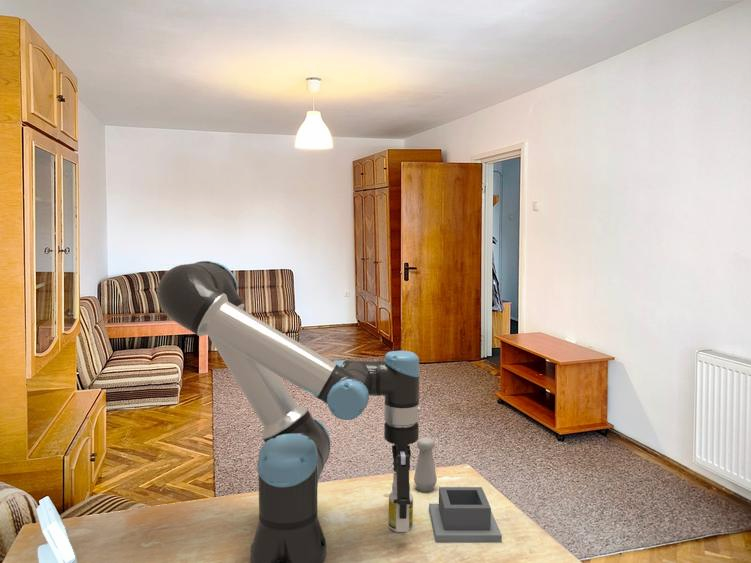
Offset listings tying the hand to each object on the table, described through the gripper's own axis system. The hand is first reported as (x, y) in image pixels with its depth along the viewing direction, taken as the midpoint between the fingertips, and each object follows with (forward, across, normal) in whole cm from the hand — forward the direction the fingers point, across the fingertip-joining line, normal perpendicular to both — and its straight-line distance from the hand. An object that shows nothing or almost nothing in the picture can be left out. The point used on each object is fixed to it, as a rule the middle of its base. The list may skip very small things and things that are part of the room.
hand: (400, 514), depth 126 cm
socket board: (+3, +1, -14) cm, 14 cm away
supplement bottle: (+3, 0, 0) cm, 3 cm away
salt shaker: (+3, +19, -7) cm, 20 cm away
